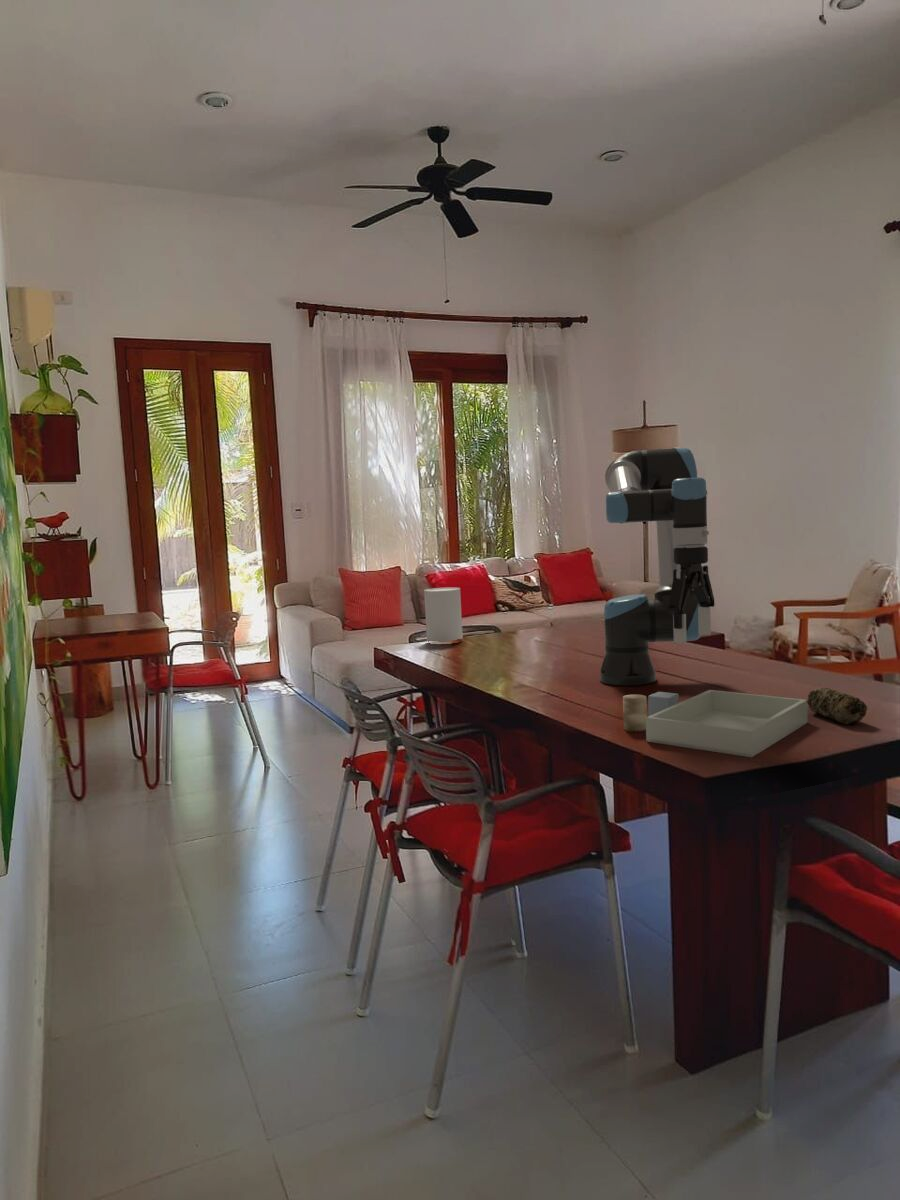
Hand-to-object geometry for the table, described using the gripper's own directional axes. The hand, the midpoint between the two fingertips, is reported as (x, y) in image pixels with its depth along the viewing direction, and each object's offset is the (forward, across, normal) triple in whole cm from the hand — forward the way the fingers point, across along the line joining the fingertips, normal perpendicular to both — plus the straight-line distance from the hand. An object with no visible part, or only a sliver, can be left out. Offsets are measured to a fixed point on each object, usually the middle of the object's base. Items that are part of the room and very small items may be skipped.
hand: (692, 638), depth 199 cm
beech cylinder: (+17, -20, +5) cm, 27 cm away
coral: (+17, +7, -29) cm, 35 cm away
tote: (+17, -14, -13) cm, 26 cm away
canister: (+16, +61, +125) cm, 140 cm away
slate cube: (+17, -7, +4) cm, 19 cm away
